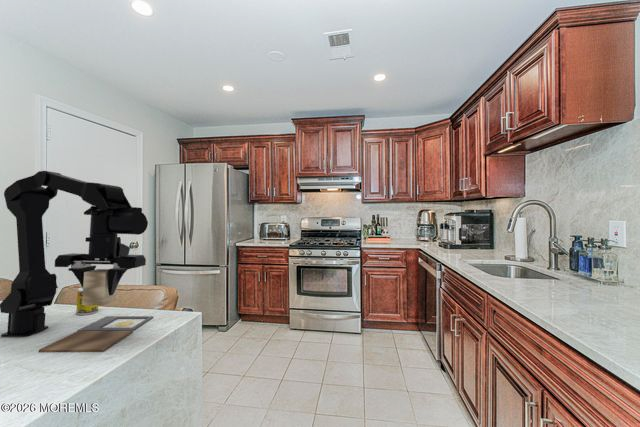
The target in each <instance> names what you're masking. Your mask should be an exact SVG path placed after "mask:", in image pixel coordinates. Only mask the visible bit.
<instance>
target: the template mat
mask: <svg viewBox="0 0 640 427" xmlns="http://www.w3.org/2000/svg"><path fill="white" fill-rule="evenodd" d="M152 319H154V316H151V315H150V316H148V315H144V316H143V315H140V316H139V315H138V316H135V315H134V316H129V315H125V316H124V315H121V316H120V315H119V316H118V315H113V316H112V315H110V316H109V315H106V316H104V317H102V318H100V319H98V320H95V321H94V322H91V323H90V324H87V325H86V326H83V327H81V328H79V329H77V331H133V332H134V331H136V330H137V329H139V328H141V327H143V326H144V325H145V324H147V323H148V322H150V321H151V320H152ZM117 320H127V321H121V322H118V323H116V324H115V327H106V326H107V325H110V324H112V323H113V322H115V321H117ZM129 320H142V321H141V322H139V323H137V324H136V325H134V326H132V327H128V326H131V325H133V324H134V321H129Z"/></svg>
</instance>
